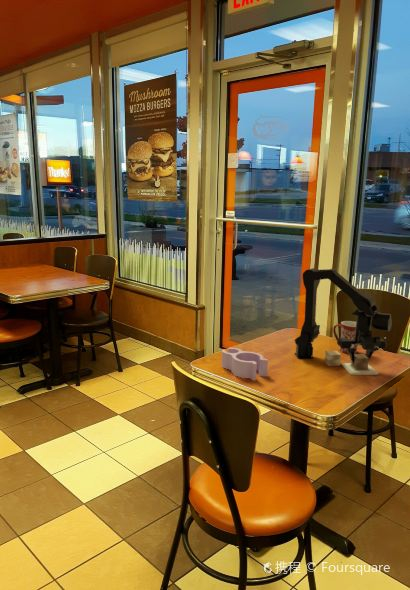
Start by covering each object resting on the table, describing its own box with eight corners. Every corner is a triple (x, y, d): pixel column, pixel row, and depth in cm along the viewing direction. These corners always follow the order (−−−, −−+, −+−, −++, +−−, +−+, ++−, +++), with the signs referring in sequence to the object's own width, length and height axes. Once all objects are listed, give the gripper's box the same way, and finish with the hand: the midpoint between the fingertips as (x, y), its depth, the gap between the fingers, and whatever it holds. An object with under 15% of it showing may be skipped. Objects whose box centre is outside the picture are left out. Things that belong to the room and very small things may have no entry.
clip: (214, 367, 186) (215, 351, 185) (235, 360, 194) (236, 345, 193) (250, 382, 172) (251, 365, 170) (271, 374, 180) (272, 358, 178)
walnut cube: (355, 369, 184) (356, 358, 183) (351, 365, 189) (352, 354, 188) (367, 369, 184) (368, 358, 183) (362, 365, 189) (363, 354, 188)
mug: (362, 351, 210) (364, 323, 207) (353, 356, 203) (356, 327, 200) (336, 345, 218) (339, 318, 215) (327, 349, 211) (330, 321, 209)
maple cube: (328, 366, 190) (329, 354, 189) (324, 361, 195) (325, 350, 194) (339, 365, 191) (340, 354, 190) (335, 361, 196) (336, 350, 195)
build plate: (351, 374, 181) (351, 372, 181) (341, 364, 192) (341, 362, 192) (377, 374, 182) (377, 372, 182) (366, 364, 193) (366, 362, 192)
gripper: (348, 332, 174) (344, 370, 178) (394, 332, 176) (390, 370, 179) (338, 324, 185) (335, 360, 189) (382, 324, 187) (378, 360, 190)
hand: (359, 362), depth 186 cm, fingers open, 6 cm apart
